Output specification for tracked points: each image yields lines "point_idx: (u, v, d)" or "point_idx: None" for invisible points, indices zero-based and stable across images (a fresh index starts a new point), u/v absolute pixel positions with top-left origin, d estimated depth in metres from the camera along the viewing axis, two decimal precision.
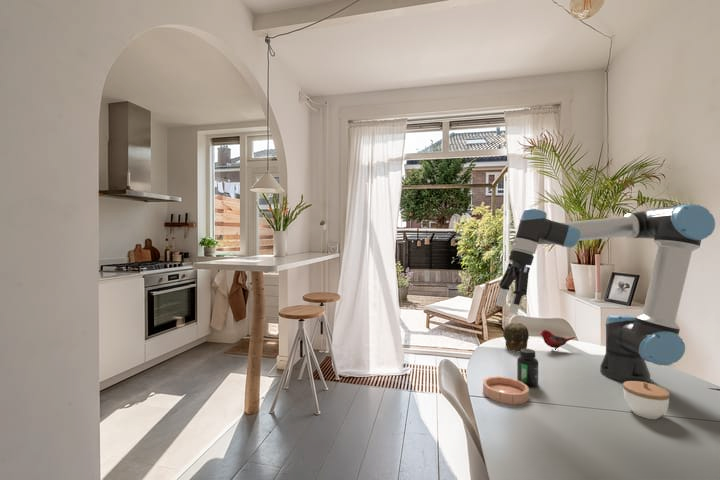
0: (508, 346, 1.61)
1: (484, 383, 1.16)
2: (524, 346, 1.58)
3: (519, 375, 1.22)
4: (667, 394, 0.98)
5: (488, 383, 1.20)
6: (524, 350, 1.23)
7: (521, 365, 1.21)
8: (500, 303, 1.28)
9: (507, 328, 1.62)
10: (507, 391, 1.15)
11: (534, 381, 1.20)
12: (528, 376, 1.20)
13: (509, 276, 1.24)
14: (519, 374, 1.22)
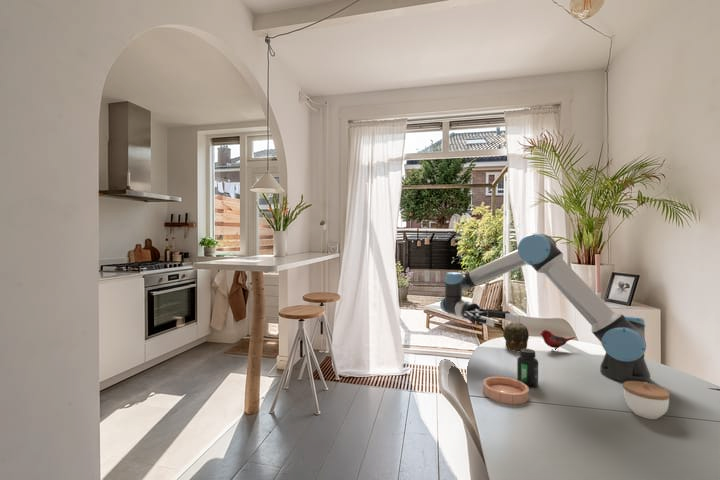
0: (508, 346, 1.61)
1: (484, 383, 1.16)
2: (524, 346, 1.58)
3: (519, 375, 1.22)
4: (667, 394, 0.98)
5: (488, 383, 1.20)
6: (524, 350, 1.23)
7: (521, 365, 1.21)
8: (516, 319, 1.35)
9: (507, 328, 1.62)
10: (507, 391, 1.15)
11: (534, 381, 1.20)
12: (528, 376, 1.20)
13: (489, 316, 1.44)
14: (519, 374, 1.22)
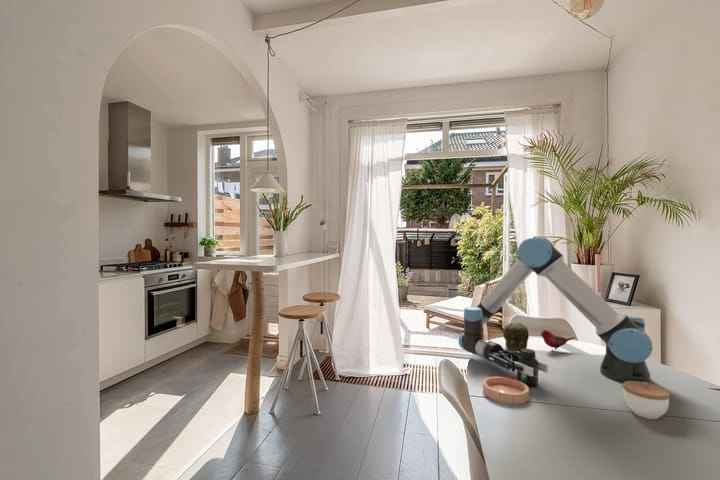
0: (508, 346, 1.61)
1: (484, 383, 1.16)
2: (524, 346, 1.58)
3: (519, 375, 1.22)
4: (667, 394, 0.98)
5: (488, 383, 1.20)
6: (524, 350, 1.23)
7: None
8: (544, 368, 1.21)
9: (507, 328, 1.62)
10: (507, 391, 1.15)
11: (534, 381, 1.20)
12: (528, 376, 1.20)
13: (513, 360, 1.31)
14: (519, 374, 1.22)
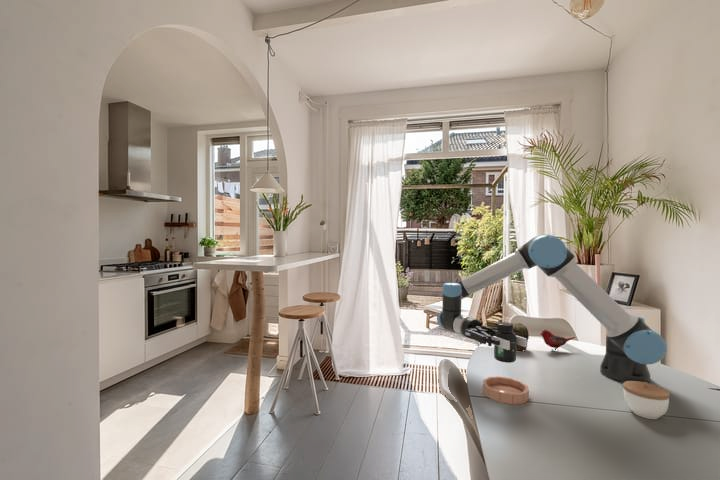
0: None
1: (484, 383, 1.16)
2: None
3: (496, 350, 1.15)
4: (667, 394, 0.98)
5: (488, 383, 1.20)
6: (501, 323, 1.15)
7: None
8: (522, 342, 1.13)
9: None
10: (507, 391, 1.15)
11: (511, 356, 1.12)
12: (505, 350, 1.12)
13: (491, 335, 1.23)
14: (496, 349, 1.15)
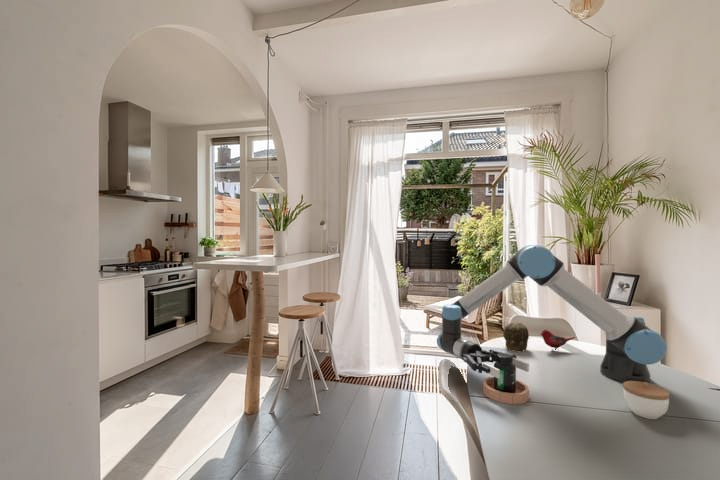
0: (508, 346, 1.61)
1: (484, 383, 1.16)
2: (524, 346, 1.58)
3: (495, 381, 1.14)
4: (667, 394, 0.98)
5: (488, 383, 1.20)
6: (501, 355, 1.15)
7: None
8: (524, 366, 1.15)
9: (507, 328, 1.62)
10: None
11: (511, 388, 1.12)
12: (504, 382, 1.12)
13: (493, 360, 1.24)
14: (495, 380, 1.14)
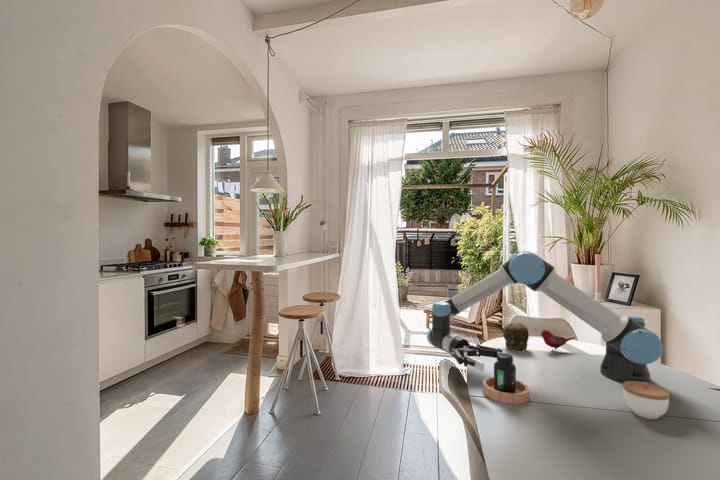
0: (508, 346, 1.61)
1: (484, 383, 1.16)
2: (524, 346, 1.58)
3: (495, 381, 1.14)
4: (667, 394, 0.98)
5: (488, 383, 1.20)
6: (501, 355, 1.15)
7: (498, 371, 1.13)
8: None
9: (507, 328, 1.62)
10: None
11: (511, 388, 1.12)
12: (504, 382, 1.12)
13: (480, 354, 1.29)
14: (495, 380, 1.14)
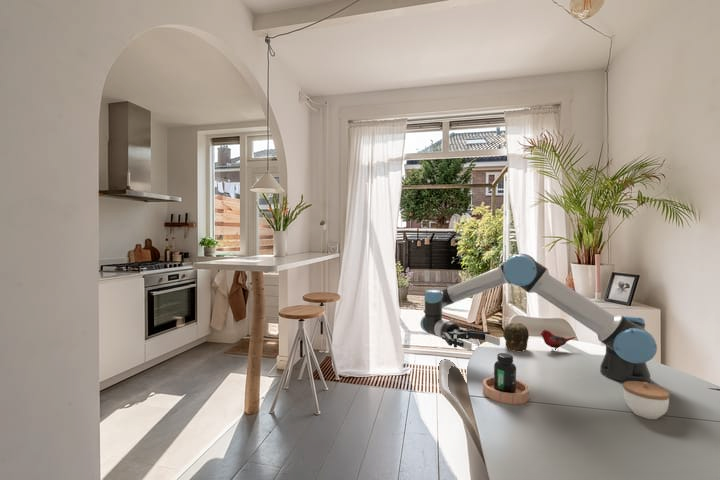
0: (508, 346, 1.61)
1: (484, 383, 1.16)
2: (524, 346, 1.58)
3: (496, 381, 1.14)
4: (667, 394, 0.98)
5: (488, 383, 1.20)
6: (501, 355, 1.15)
7: (498, 371, 1.13)
8: (496, 341, 1.29)
9: (507, 328, 1.62)
10: None
11: (511, 388, 1.12)
12: (505, 382, 1.12)
13: (469, 337, 1.37)
14: (496, 380, 1.14)
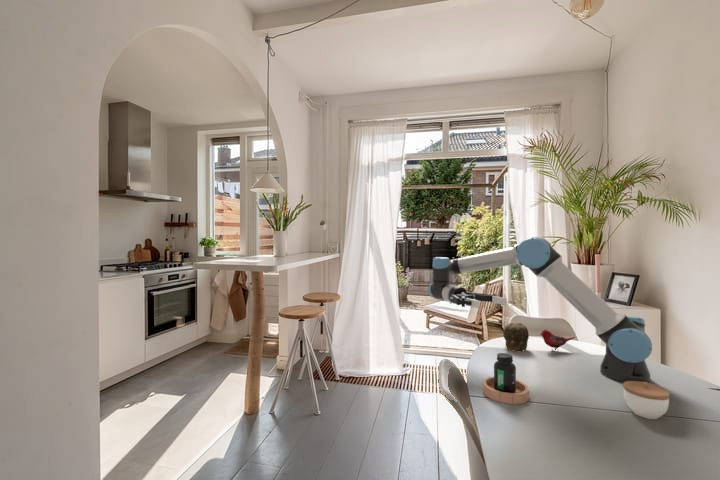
0: (508, 346, 1.61)
1: (484, 383, 1.16)
2: (524, 346, 1.58)
3: (495, 381, 1.14)
4: (667, 394, 0.98)
5: (488, 383, 1.20)
6: (501, 355, 1.15)
7: (498, 371, 1.13)
8: (503, 301, 1.32)
9: (507, 328, 1.62)
10: None
11: (511, 388, 1.12)
12: (505, 382, 1.12)
13: (476, 299, 1.40)
14: (495, 380, 1.14)
